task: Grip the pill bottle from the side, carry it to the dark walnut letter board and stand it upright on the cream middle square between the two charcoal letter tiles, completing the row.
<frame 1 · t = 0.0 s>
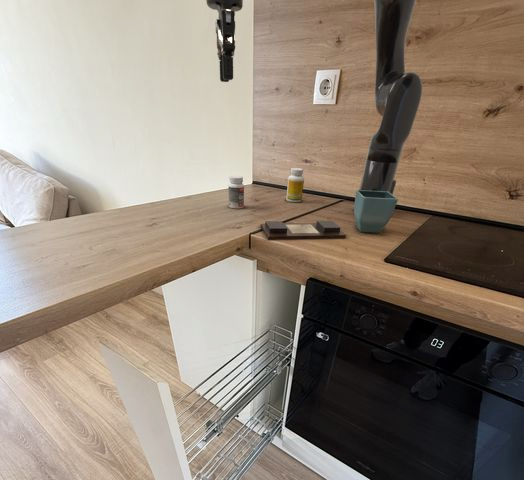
hand: (226, 80, 71), 29 cm above the countertop, tool pointing down, fingers open, 8 cm apart
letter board: (301, 232, 79), on the countertop
flower pot: (367, 230, 83), on the countertop
supplement bottle: (293, 201, 105), on the countertop
pill bottle: (236, 207, 95), on the countertop
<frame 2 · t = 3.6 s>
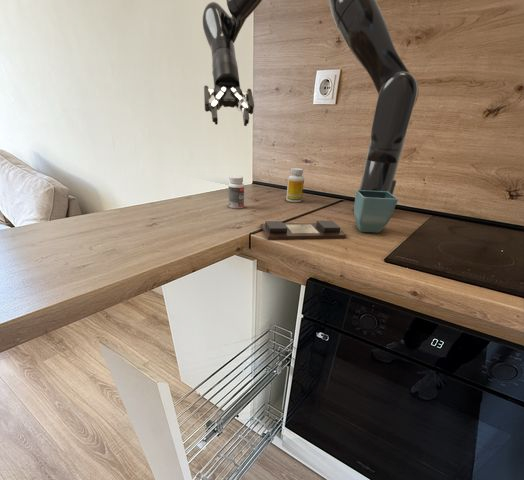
hand: (231, 122, 88), 21 cm above the countertop, tool tilted 45°, fingers open, 8 cm apart
nothing on the countertop moved.
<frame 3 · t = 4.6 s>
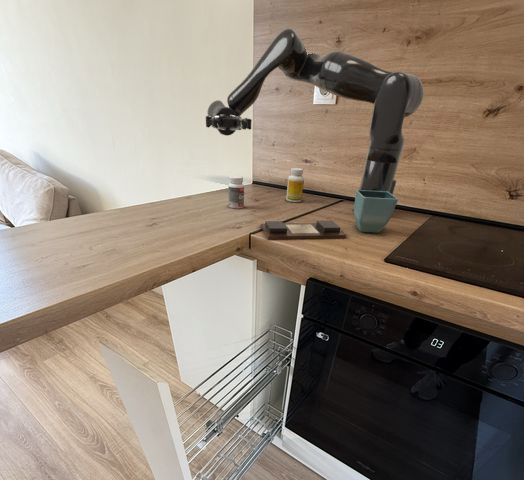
hand: (230, 124, 91), 20 cm above the countertop, tool horizontal, fingers open, 8 cm apart
nothing on the countertop moved.
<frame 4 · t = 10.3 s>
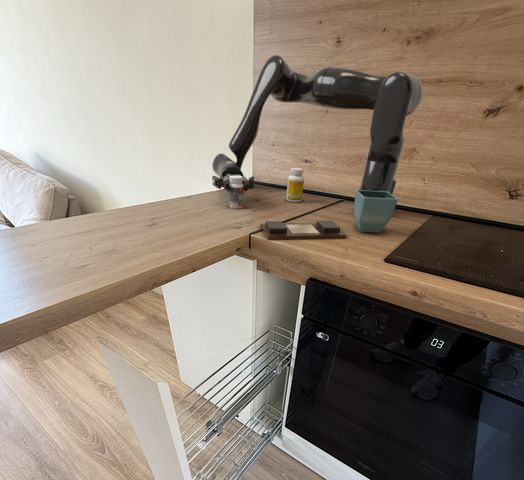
hand: (237, 187, 90), 6 cm above the countertop, tool horizontal, fingers closed on pill bottle, 4 cm apart
pill bottle: (236, 207, 95), on the countertop, touching gripper
everything else where it was.
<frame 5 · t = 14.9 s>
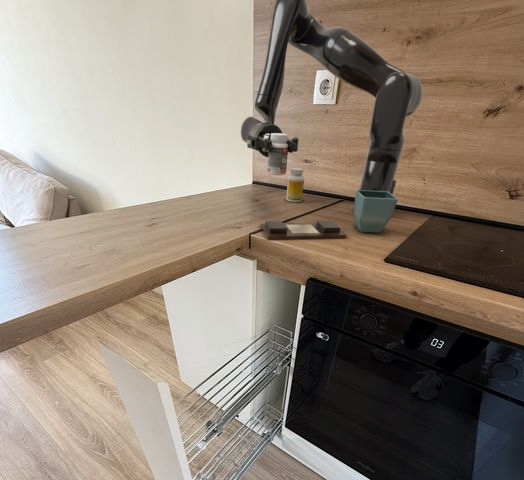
hand: (281, 147, 72), 18 cm above the countertop, tool horizontal, fingers closed on pill bottle, 4 cm apart
pill bottle: (276, 174, 78), point 11 cm above the countertop, touching gripper
everything else where it was.
when the fingers open (7 cm above the countertop, at t = 19.7 s): pill bottle stays where it is, resting on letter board.
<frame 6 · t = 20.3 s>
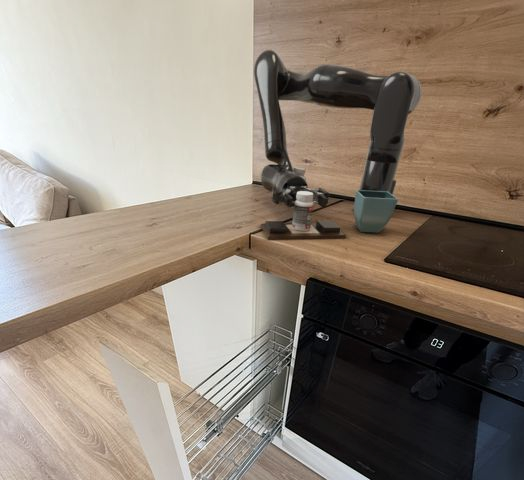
hand: (308, 203, 73), 7 cm above the countertop, tool horizontal, fingers open, 8 cm apart
supplement bottle: (293, 200, 105), on the countertop, touching arm
pill bottle: (300, 229, 78), point 1 cm above the countertop, touching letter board
everything else where it was.
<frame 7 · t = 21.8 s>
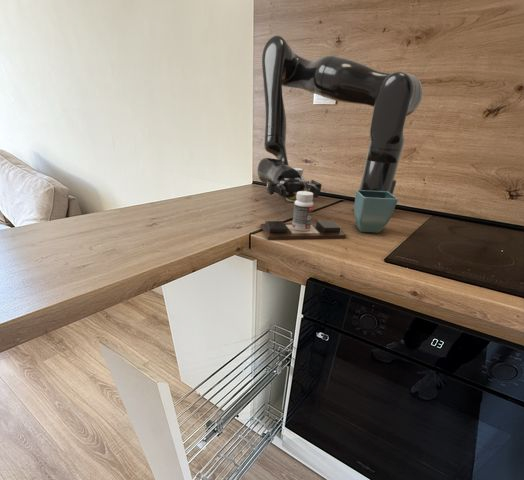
hand: (301, 193, 77), 8 cm above the countertop, tool horizontal, fingers open, 8 cm apart
supplement bottle: (293, 201, 105), on the countertop
everything else where it was.
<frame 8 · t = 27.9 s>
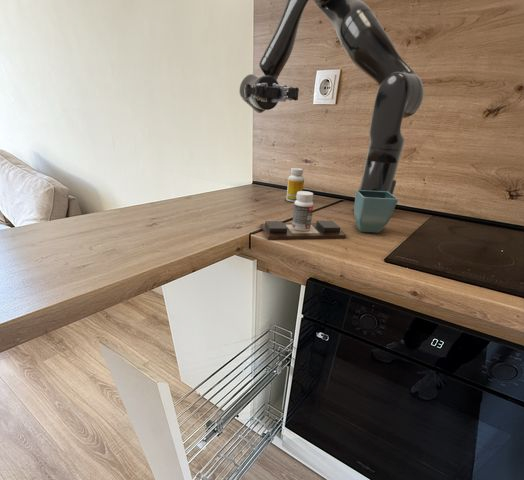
hand: (276, 92, 77), 28 cm above the countertop, tool horizontal, fingers open, 8 cm apart
nothing on the countertop moved.
at the end: pill bottle inside the target area on the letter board (0.3 cm from its centre), point 0.7 cm above the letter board's base; pill bottle tilted 0°; the gripper is holding nothing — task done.
